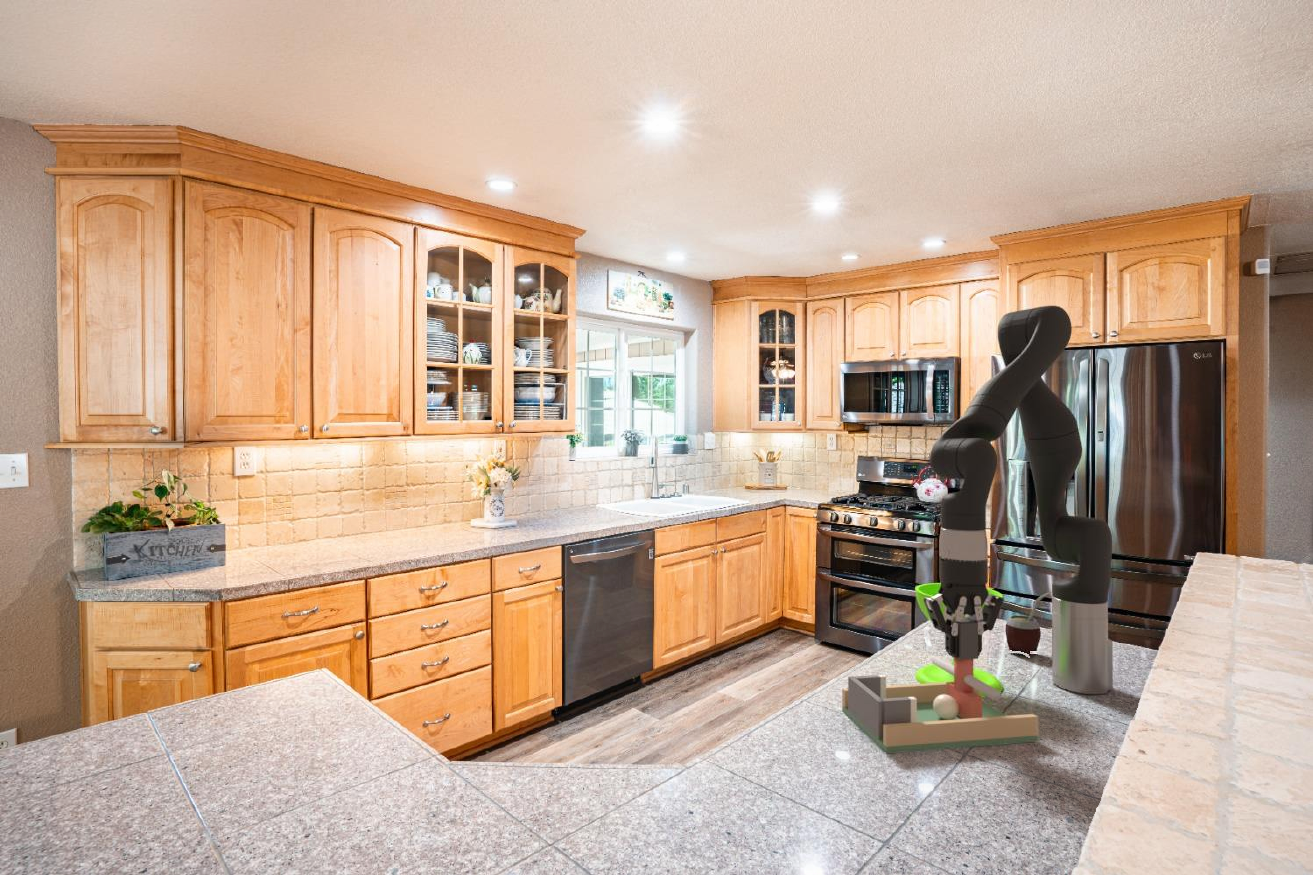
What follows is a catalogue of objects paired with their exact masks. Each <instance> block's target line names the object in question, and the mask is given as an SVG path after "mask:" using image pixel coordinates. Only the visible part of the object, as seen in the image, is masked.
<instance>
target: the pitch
mask: <svg viewBox="0 0 1313 875" xmlns="http://www.w3.org/2000/svg"><path fill="white" fill-rule="evenodd" d="M847 680H848V682H847V683H848V686H847V688H845V687H844V688H842V689H841V694H842V695H841V697H842V699H841V702H842V704H841V705H842V706H841V707H842V708H841V709H842V710H841V711H842V712H843V713H844V715H846V716H847V717H848V718H849V719H850V720H851V721H852V722H853V723H854V724H855V725H857V727H858V728H859V729H861V730H862V732H864V734H866V736H868V737H869V738H870V739H871V740H872V741H873V742H874V743H875V744H876V745H877V746H878V747H879V748H880V749H882V751H883V752H884V753H885V754H892V753H894V754H895V753H906V752H919V751H933V750H944V749H945V750H946V749H959V748H971V747H982V746H983V747H985V746H997V745H999V746H1000V745H1009V744H1020V743H1022V744H1023V743H1035V742H1036V743H1037V742H1039V716H1038V715H1036V714H1035V713H1029V714H1016V715H1015V714H1013V715H1006V714H1004V713H1003V712H1001V711H1000V710H998V709H996V708H995V707H993V706H992V705H990V704H988V703H987V702H985V701H983V700H982V718H969V719H962V718H961V717H959V716H958V715H957V716H956V717H955V718H953V719H950V720H945V719H942V718H940V717H939V716H938V715H937V714H936V713H935V711H934V708H933V702H934V700H935V698H936V697H937V696H939V695H942V694H946V682H941V683H925V684H921V683H911V684H910V683H909V684H895V685H887V676H886V675H884V674H872V675H853V676H848V677H847ZM973 690H974V691H973V692H975V693H977V694H978V695H979V691H978V690H976V689H975V688H973Z"/></svg>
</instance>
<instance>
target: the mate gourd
mask: <svg viewBox="0 0 1313 875" xmlns="http://www.w3.org/2000/svg"><path fill="white" fill-rule="evenodd" d="M1050 594H1052V591H1049V592H1047V593H1044V594H1042V595H1041V596H1038V598H1037V599H1035V601H1034V605H1033V608H1032V610H1031V612H1030V615H1029V616H1026V615H1025V616H1024V615H1011V616H1010V617H1009V618H1007V620H1006V622H1005V623H1006V624H1005V630H1004V632H1005V636H1006V643H1007V647H1008V651H1010V650H1012V651H1021V652H1024V653H1027V654H1030V651H1037V652H1038V647H1039V644H1040V642H1041V638H1042V637H1041V635H1042V633H1041V632H1042V631H1041V626H1040V624H1039V622H1038V621H1037V619H1035V618H1034V614H1035V613H1036V609H1037V608H1038V605H1040V603H1041V600H1043V599H1044V598H1045V597H1047V596H1049V595H1050Z"/></svg>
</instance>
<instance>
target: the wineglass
mask: <svg viewBox="0 0 1313 875" xmlns="http://www.w3.org/2000/svg"><path fill="white" fill-rule="evenodd" d="M940 586H941V582H934V583H933V582H931V583H924V584H923V583H922V584H918V585H917V586H915V587H914V590H915V591H914V592H915V596H916V597H915V598H916V602H917V603H918V607H919V608H920V610H921V612H922V613H923V615H925V617H926V618H927V619H928V620H929V621H930V622H932V621H931V618H930V616H929V613H928V611H927V608H926V606H925V603H924V598H925V597H930V598H931V597H933V596H935V595H937V594H938V591H939V589H940ZM986 588H987V587H986ZM987 590H988V593H989V594H993V595H996V596H999V597H1001V598H1002V599H1003V595H1002V593H1000V592H999V591H997V590H994V589H991V588H987ZM1003 600H1004V599H1003ZM941 604H942V608H940V609H941V611H942V614H943V616H944V611H945V605H944V603H943V602H941ZM984 605H985V603H983V605H982V607H981V609H982V611H983V608H984ZM953 615H955V614H954V613H953ZM963 618H966V617H965V615H963ZM944 619H945V617H944ZM951 664H952V665H954V657H952V662H951ZM973 677H975V678H977V679H978V680H980V681H982V682H984V683H985V684H987V685H989V686H991V687H992V688H994V689H996V690H998V691H999V692H1001V691H1002V692H1003V690H1004V687H1003V684H1002V682H1001V681H1000V679H998V678H997V677H996V676H995V675H993V674H990V672H987V671H984V670H982V669H979V668H976V667H973ZM915 680H916V681H917V683H919V682H920V683H919V684H925V683H941V682H954V676H953V675H951V674H950V673H948V672H946V671H945V670H943V669H941V668H940V667H938V666H936V665H935V664H933V663H932V664H928V665H925V666H923V667H920V668H919V669H918V670H917V671H916V672H915ZM1002 689H1003V690H1002ZM1002 692H1001V693H1002ZM979 695H980V696H981V697H982V696H983V697H982V698H985V697H986V695H985V694H983V693H981V692H980V691H979ZM986 698H987V697H986Z"/></svg>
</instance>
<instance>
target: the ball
mask: <svg viewBox="0 0 1313 875" xmlns="http://www.w3.org/2000/svg"><path fill="white" fill-rule="evenodd" d="M933 708H934V711H935V713H936V714H937V715H938V716H939V717H940V718H942V719H945V720H950V719H953V718H955V717H956V716H957V714H958V711H959V707H958V704H957V702H956V700H955V699H954V698H953V697H951V696H949V695H946V694H942V695H939V696H937V697H936V698H935V700H934V702H933Z"/></svg>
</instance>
